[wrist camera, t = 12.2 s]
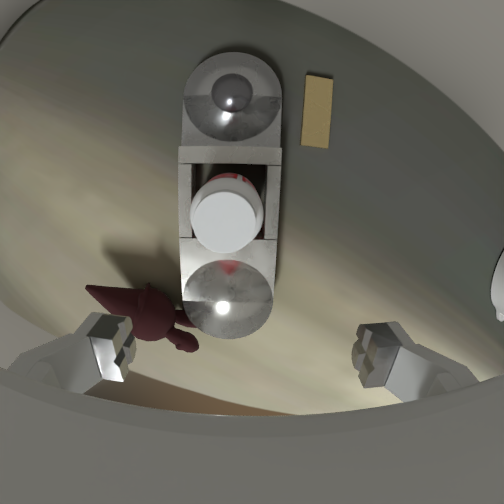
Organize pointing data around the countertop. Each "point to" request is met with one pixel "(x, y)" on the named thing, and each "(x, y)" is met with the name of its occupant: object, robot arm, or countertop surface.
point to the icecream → (147, 314)
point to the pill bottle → (226, 213)
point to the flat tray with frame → (240, 152)
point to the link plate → (316, 112)
